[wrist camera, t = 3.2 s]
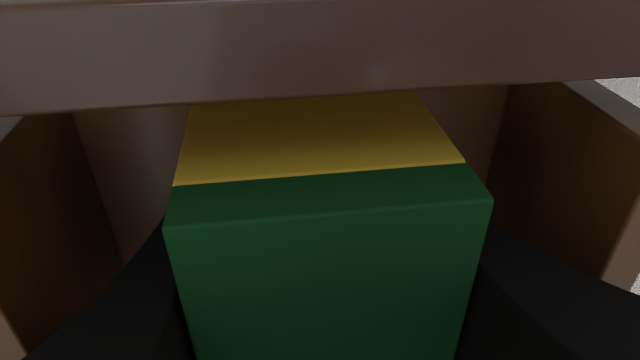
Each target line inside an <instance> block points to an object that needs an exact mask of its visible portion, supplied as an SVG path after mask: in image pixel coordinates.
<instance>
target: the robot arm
mask: <svg viewBox="0 0 640 360" xmlns="http://www.w3.org/2000/svg"><path fill="white" fill-rule="evenodd" d="M164 218H165V215H164V217H163V218H162V220H161V221H160V222H159V224H158V225H157V226H156V228H155V229H154V230H153V232H152V233H151V234H150V236H149V237H148V238H147V240H146V241H145V242H144V243H143V245H142V246H141V247H140V248H139V250H138V251H137V252H136V253H135V254H134V255H133V257H132V258H131V259H130V260H129V261H128V262H127V264H126V265H125V266H124V267H123V268H122V269H121V271H120V272H119V273H118V274H117V275H116V276H115V277H114V278H113V279H112V280H111V281H110V283H109V284H108V285H107V286H106V287H105V288H104V289H103V290H102V291H101V292H100V293H99V294H98V295H97V296H96V297H95V298H94V299H93V300H92V301H91V302H90V303H89V304H88V305H86V306H85V307H84V308H83V309H82V310H81V311H80V312H79V313H78V314H76V315H75V316H74V317H73V318H72V319H70V320H69V321H68V322H67V323H66V324H65V325H63V326H62V327H61V328H60V329H59V330H57V331H56V332H55V333H54V334H53V335H52V336H50V337H49V338H48V339H47V340H46V341H44V342H43V343H42V344H41V345H39V346H38V347H37V348H36V349H34V350H33V351H32V352H30V353H29V354H28V355H26V356H25V357H24V358H22V359H21V360H196V357H195V353H194V349H193V346H192V342H191V338H190V334H189V331H188V327H187V323H186V319H185V315H184V312H183V308H182V304H181V300H180V297H179V293H178V289H177V285H176V282H175V278H174V274H173V270H172V267H171V263H170V259H169V255H168V252H167V248H166V244H165V240H164V237H163V233H162V226H163V222H164ZM454 360H640V296H639V295H637V294H634V293H632V292H629V291H627V290H624V289H622V288H619V287H617V286H615V285H612V284H610V283H607V282H605V281H603V280H601V279H598V278H596V277H594V276H592V275H590V274H587V273H585V272H583V271H581V270H579V269H577V268H574V267H572V266H570V265H568V264H566V263H564V262H562V261H560V260H558V259H556V258H554V257H553V256H551V255H549V254H547V253H545V252H543V251H542V250H540V249H538V248H536V247H534V246H532V245H531V244H529V243H527V242H525V241H524V240H522V239H520V238H519V237H517V236H515V235H514V234H512V233H511V232H509V231H508V230H506V229H505V228H503V227H501V226H500V225H498V224H497V223H495V222H494V221H492V220H491V219H490V220H489V224H488V228H487V232H486V236H485V239H484V243H483V247H482V251H481V255H480V259H479V263H478V267H477V271H476V275H475V279H474V282H473V286H472V290H471V294H470V298H469V302H468V306H467V310H466V314H465V318H464V322H463V325H462V329H461V333H460V337H459V341H458V345H457V349H456V353H455V357H454Z"/></svg>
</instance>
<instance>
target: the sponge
mask: <svg viewBox="0 0 640 360" xmlns="http://www.w3.org/2000/svg"><path fill="white" fill-rule="evenodd" d="M493 204H494V198H493V197H492V195H491V194H490V192H489V191H488V190H487V188H486V187H485V186H484V184H483V183H482V182H481V180H480V179H479V178H478V176H477V175H476V174H475V172H474V171H473V170H472V168H471V167H470V165H469V164H467V163H466V162H465V159H464V158H463V156H462V155H461V154H460V152H459V151H458V150H457V148H456V147H455V146H454V144H453V143H452V142H451V140H450V139H449V138H448V136H447V135H446V133H445V132H444V131H443V129H442V128H441V127H440V125H439V124H438V123H437V121H436V120H435V119H434V117H433V116H432V115H431V113H430V112H429V110H428V109H427V108H426V106H425V105H424V104H423V102H422V101H421V100H420V98H419V97H418V96H417V94H416V93H415V92H414V91H405V92H389V93H373V94H357V95H342V96H326V97H310V98H294V99H278V100H263V101H247V102H231V103H215V104H200V105H191V108H190V113H189V117H188V121H187V125H186V130H185V134H184V138H183V142H182V147H181V151H180V155H179V159H178V164H177V168H176V172H175V176H174V181H173V185H172V188H171V192H170V196H169V201H168V205H167V209H166V213H165V218H164V222H163V226H162V233H163V237H164V240H165V244H166V248H167V252H168V255H169V259H170V263H171V267H172V270H173V274H174V278H175V282H176V285H177V289H178V293H179V297H180V300H181V304H182V308H183V312H184V315H185V319H186V323H187V327H188V331H189V334H190V338H191V342H192V346H193V349H194V353H195V357H196V360H454V357H455V353H456V349H457V345H458V341H459V337H460V333H461V329H462V325H463V322H464V318H465V314H466V310H467V306H468V302H469V298H470V294H471V290H472V286H473V282H474V279H475V275H476V271H477V267H478V263H479V259H480V255H481V251H482V247H483V243H484V239H485V236H486V232H487V228H488V224H489V220H490V216H491V212H492V208H493Z"/></svg>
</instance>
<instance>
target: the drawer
mask: <svg viewBox="0 0 640 360" xmlns="http://www.w3.org/2000/svg"><path fill="white" fill-rule="evenodd" d="M626 77H640V0H0V360H21V359H22V358H24V357H25V356H26V355H28V354H29V353H30V352H32V351H33V350H34V349H36V348H37V347H38V346H39V345H41V344H42V343H43V342H44V341H46V340H47V339H48V338H49V337H50V336H52V335H53V334H54V333H55V332H56V331H57V330H59V329H60V328H61V327H62V326H63V325H65V324H66V323H67V322H68V321H69V320H70V319H72V318H73V317H74V316H75V315H76V314H78V313H79V312H80V311H81V310H82V309H83V308H84V307H85V306H86V305H88V304H89V303H90V302H91V301H92V300H93V299H94V298H95V297H96V296H97V295H98V294H99V293H100V292H101V291H102V290H103V289H104V288H105V287H106V286H107V285H108V284H109V283H110V281H111V280H112V279H113V278H114V277H115V276H116V275H117V274H118V273H119V272H120V271H121V269H122V268H123V267H124V266H125V265H126V264H127V262H128V261H129V260H130V259H131V258H132V257H133V255H134V254H135V253H136V252H137V251H138V250H139V248H140V247H141V246H142V245H143V243H144V242H145V241H146V240H147V238H148V237H149V236H150V234H151V233H152V232H153V230H154V229H155V228H156V226H157V225H158V224H159V222H160V221H161V220H162V218H163V217H164V215H165V213H166V209H167V205H168V201H169V196H170V192H171V188H172V185H173V181H174V176H175V172H176V168H177V164H178V159H179V155H180V151H181V147H182V142H183V138H184V134H185V130H186V125H187V121H188V117H189V113H190V108H191V105H200V104H215V103H231V102H247V101H263V100H278V99H294V98H310V97H326V96H342V95H357V94H373V93H389V92H405V91H414V92H415V93H416V94H417V96H418V97H419V98H420V100H421V101H422V102H423V104H424V105H425V106H426V108H427V109H428V110H429V112H430V113H431V115H432V116H433V117H434V119H435V120H436V121H437V123H438V124H439V125H440V127H441V128H442V129H443V131H444V132H445V133H446V135H447V136H448V138H449V139H450V140H451V142H452V143H453V144H454V146H455V147H456V148H457V150H458V151H459V152H460V154H461V155H462V156H463V158H464V159H465V162H466V163H467V164H469V165H470V167H471V168H472V170H473V171H474V172H475V174H476V175H477V176H478V178H479V179H480V180H481V182H482V183H483V184H484V186H485V187H486V188H487V190H488V191H489V192H490V194H491V195H492V197H493V198H494V204H493V208H492V212H491V216H490V219H491V220H492V221H494V222H495V223H497V224H498V225H500V226H501V227H503V228H505V229H506V230H508V231H509V232H511V233H512V234H514V235H515V236H517V237H519V238H520V239H522V240H524V241H525V242H527V243H529V244H531V245H532V246H534V247H536V248H538V249H540V250H542V251H543V252H545V253H547V254H549V255H551V256H553V257H554V258H556V259H558V260H560V261H562V262H564V263H566V264H568V265H570V266H572V267H574V268H577V269H579V270H581V271H583V272H585V273H587V274H590V275H592V276H594V277H596V278H598V279H601V280H603V281H605V282H607V283H610V284H612V285H615V286H617V287H619V288H622V289H624V290H627V291H630V289H631V287H632V286H633V284H634V282H635V280H636V278H637V276H638V274H639V273H640V108H638V107H637V106H635V105H633V104H632V103H630V102H629V101H627V100H625V99H624V98H622V97H620V96H619V95H617V94H616V93H614V92H612V91H611V90H609V89H607V88H606V87H604V86H603V85H601V84H599V83H598V82H596V81H594V79H610V78H626Z"/></svg>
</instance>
